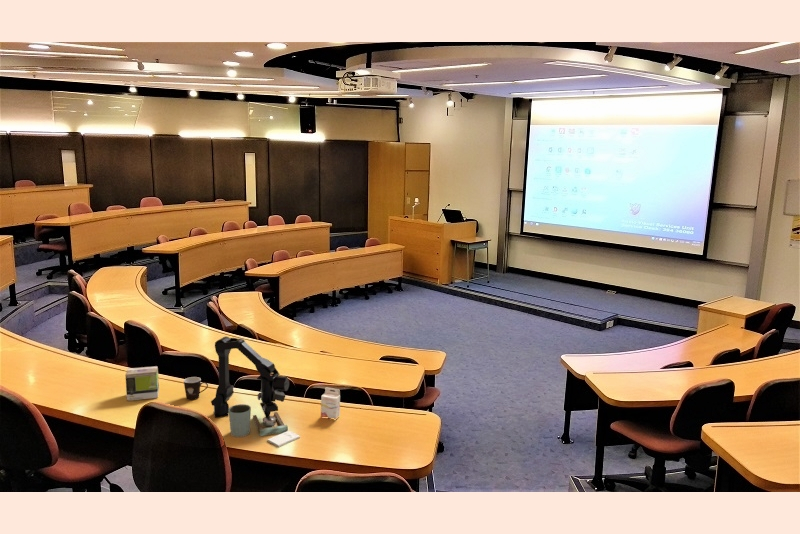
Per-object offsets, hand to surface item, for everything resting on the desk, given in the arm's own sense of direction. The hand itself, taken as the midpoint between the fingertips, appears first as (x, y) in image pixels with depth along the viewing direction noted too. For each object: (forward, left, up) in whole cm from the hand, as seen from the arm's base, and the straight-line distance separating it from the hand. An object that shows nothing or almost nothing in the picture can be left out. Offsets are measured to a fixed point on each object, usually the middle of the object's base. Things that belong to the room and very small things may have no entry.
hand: (267, 418), depth 278 cm
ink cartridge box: (+30, -7, -2) cm, 31 cm away
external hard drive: (+3, -22, -2) cm, 22 cm away
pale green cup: (-15, -8, -2) cm, 17 cm away
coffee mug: (-30, +40, -2) cm, 50 cm away
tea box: (-55, +52, -2) cm, 76 cm away
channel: (0, -4, -1) cm, 4 cm away
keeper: (0, -4, -1) cm, 4 cm away
